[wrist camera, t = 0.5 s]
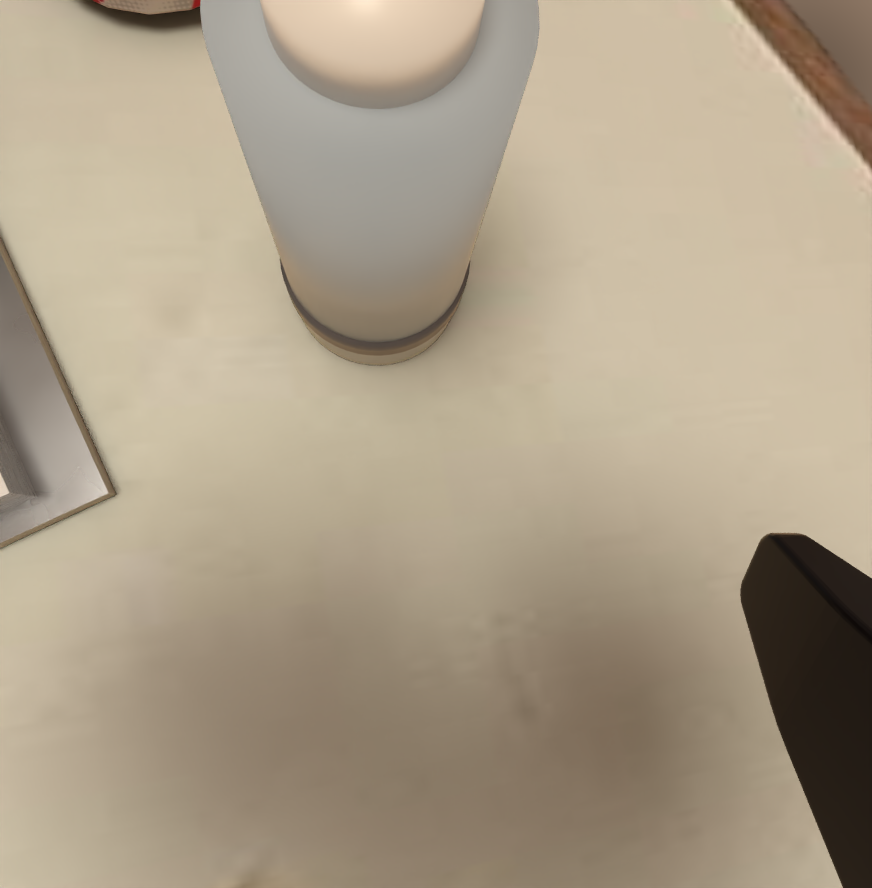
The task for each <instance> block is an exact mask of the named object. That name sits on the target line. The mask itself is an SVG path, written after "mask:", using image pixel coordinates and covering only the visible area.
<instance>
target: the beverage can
mask: <svg viewBox="0 0 872 888" xmlns="http://www.w3.org/2000/svg"><path fill="white" fill-rule="evenodd" d="M93 1H95V2H97V3H99V4H101V5H103V6H105V7H107V8H112V9H119V10H125V11H131V12H137V13H143V14H149V15H150V14H159V13H168V12H177V11H185V10H192V9H194V8H197V7H199V6H200V2H201V0H93Z"/></svg>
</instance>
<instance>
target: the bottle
mask: <svg viewBox="0 0 872 888" xmlns="http://www.w3.org/2000/svg"><path fill="white" fill-rule="evenodd" d="M200 13H201V23H202V31H203V35H204V39H205V43H206V47H207V51H208V54H209V57H210V59H211V62H212V65H213V68H214V71H215V74H216V76H217V79H218V82H219V85H220V88H221V91H222V94H223V96H224V99H225V102H226V105H227V108H228V111H229V114H230V116H231V119H232V122H233V125H234V128H235V131H236V134H237V136H238V139H239V142H240V145H241V148H242V151H243V153H244V156H245V159H246V162H247V165H248V168H249V171H250V173H251V176H252V179H253V182H254V185H255V188H256V191H257V193H258V196H259V199H260V202H261V205H262V208H263V211H264V213H265V216H266V219H267V222H268V225H269V228H270V230H271V233H272V236H273V239H274V242H275V245H276V248H277V250H278V253H279V256H280V263H281V270H282V274H283V278H284V282H285V284H286V287H287V290H288V293H289V295H290V298H291V300H292V303H293V305H294V307H295V308H296V310H297V312H298V314H299V315H300V316H301V318H302V320H303V322H304V323H305V325H306V327H307V329H308V330H309V331H310V333H311V334H312V335H313V336H314V338H315V339H316V340H317V341H318V342H319V343H320V344H321V345H323V346H324V347H325V348H327V349H328V350H329V351H331V352H332V353H334V354H336V355H338V356H339V357H342V358H344V359H347V360H349V361H352V362H356V363H360V364H366V365H388V364H394V363H398V362H402V361H405V360H407V359H410V358H412V357H414V356H416V355H418V354H420V353H422V352H423V351H424V350H426V349H427V348H428V347H430V346H431V345H432V344H433V343H434V342H435V341H436V340H437V339H438V338H439V337H440V335H441V334H442V333H443V331H444V330H445V328H446V326H447V325H448V323H449V321H450V319H451V317H452V316H453V314H454V312H455V311H456V309H457V307H458V305H459V302H460V300H461V297H462V294H463V292H464V289H465V286H466V282H467V278H468V274H469V267H470V258H471V255H472V252H473V249H474V246H475V243H476V239H477V236H478V233H479V230H480V227H481V224H482V221H483V218H484V215H485V211H486V208H487V205H488V202H489V199H490V196H491V193H492V190H493V186H494V183H495V180H496V177H497V174H498V171H499V168H500V165H501V162H502V158H503V155H504V152H505V149H506V146H507V143H508V140H509V137H510V134H511V130H512V127H513V124H514V121H515V118H516V115H517V112H518V109H519V106H520V102H521V99H522V96H523V93H524V90H525V87H526V84H527V81H528V78H529V74H530V71H531V68H532V65H533V61H534V57H535V54H536V50H537V44H538V36H539V6H538V0H201V2H200Z"/></svg>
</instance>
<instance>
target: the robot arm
mask: <svg viewBox="0 0 872 888" xmlns="http://www.w3.org/2000/svg"><path fill="white" fill-rule="evenodd" d="M740 596H741V603H742V607H743V611H744V614H745V617H746V621H747V624H748V628H749V631H750V635H751V638H752V642H753V645H754V649H755V652H756V655H757V659H758V662H759V666H760V669H761V673H762V676H763V680H764V683H765V687H766V690H767V693H768V697H769V700H770V704H771V707H772V710H773V713H774V716H775V719H776V722H777V725H778V728H779V731H780V733H781V736H782V739H783V741H784V744H785V746H786V749H787V751H788V754H789V756H790V759H791V761H792V764H793V766H794V768H795V771H796V773H797V776H798V778H799V781H800V783H801V786H802V788H803V791H804V793H805V795H806V798H807V800H808V803H809V805H810V808H811V810H812V813H813V815H814V818H815V820H816V822H817V825H818V827H819V830H820V832H821V835H822V837H823V840H824V842H825V845H826V847H827V849H828V852H829V854H830V857H831V859H832V862H833V864H834V867H835V869H836V872H837V874H838V876H839V879H840V881H841V884H842V886H843V888H872V578H870V577H869V576H867V575H866V574H864V573H862V572H861V571H859V570H858V569H856V568H855V567H853V566H852V565H850V564H849V563H847V562H846V561H844V560H843V559H841V558H840V557H838V556H837V555H835V554H834V553H832V552H831V551H829V550H827V549H826V548H824V547H823V546H821V545H820V544H818V543H817V542H815V541H814V540H812V539H811V538H809V537H807V536H806V535H803V534H798V533H770V534H767V535H765V536H764V537H763V538H762V539H761V541H760V542H759V544H758V547H757V549H756V551H755V554H754V556H753V558H752V560H751V563H750V565H749V567H748V569H747V572H746V574H745V576H744V579H743V581H742V584H741V594H740Z"/></svg>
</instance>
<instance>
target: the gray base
mask: <svg viewBox="0 0 872 888" xmlns="http://www.w3.org/2000/svg"><path fill="white" fill-rule="evenodd" d="M114 495H116V493H115V491H114V488H113V486H112V484H111V482H110V479H109V477H108V475H107V473H106V471H105V468H104V466H103V464H102V462H101V459H100V457H99V455H98V453H97V451H96V448H95V446H94V444H93V442H92V439H91V437H90V435H89V433H88V431H87V428H86V426H85V424H84V422H83V419H82V417H81V415H80V413H79V411H78V408H77V406H76V404H75V402H74V400H73V397H72V395H71V393H70V391H69V388H68V386H67V384H66V382H65V380H64V377H63V375H62V373H61V371H60V368H59V366H58V364H57V362H56V360H55V357H54V355H53V353H52V351H51V348H50V346H49V344H48V342H47V340H46V337H45V335H44V333H43V331H42V328H41V326H40V324H39V322H38V320H37V317H36V315H35V313H34V311H33V308H32V306H31V304H30V302H29V300H28V297H27V295H26V293H25V291H24V288H23V286H22V284H21V282H20V280H19V277H18V275H17V273H16V271H15V268H14V266H13V264H12V262H11V260H10V257H9V255H8V253H7V251H6V248H5V246H4V244H3V242H2V240H1V237H0V548H2V547H4V546H6V545H8V544H11V543H13V542H15V541H17V540H19V539H21V538H23V537H26V536H28V535H30V534H32V533H34V532H36V531H39V530H41V529H43V528H45V527H47V526H49V525H52V524H54V523H56V522H58V521H60V520H62V519H65V518H67V517H69V516H71V515H73V514H75V513H77V512H80V511H82V510H84V509H86V508H88V507H90V506H93V505H95V504H97V503H99V502H101V501H103V500H106V499H108V498H110V497H112V496H114Z"/></svg>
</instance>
